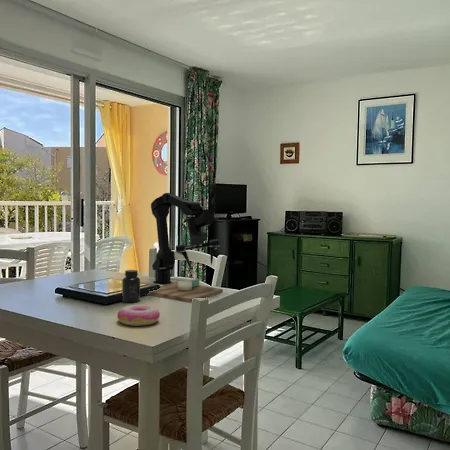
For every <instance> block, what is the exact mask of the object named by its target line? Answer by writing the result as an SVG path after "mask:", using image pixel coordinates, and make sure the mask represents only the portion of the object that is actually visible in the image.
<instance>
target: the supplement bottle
mask: <svg viewBox="0 0 450 450" xmlns="http://www.w3.org/2000/svg"><path fill="white" fill-rule="evenodd" d="M138 273H139V272H138V270H137V269H127V270H125V271H124V276H125V277H123V278H122V282H121V284H122V288H121V291H122V294H121V295H122V296H123V300H122V302H123V301H124V303H127V304H128V303H130V304H131V303H138V302H140V300H141V279H140V277H138Z"/></svg>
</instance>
